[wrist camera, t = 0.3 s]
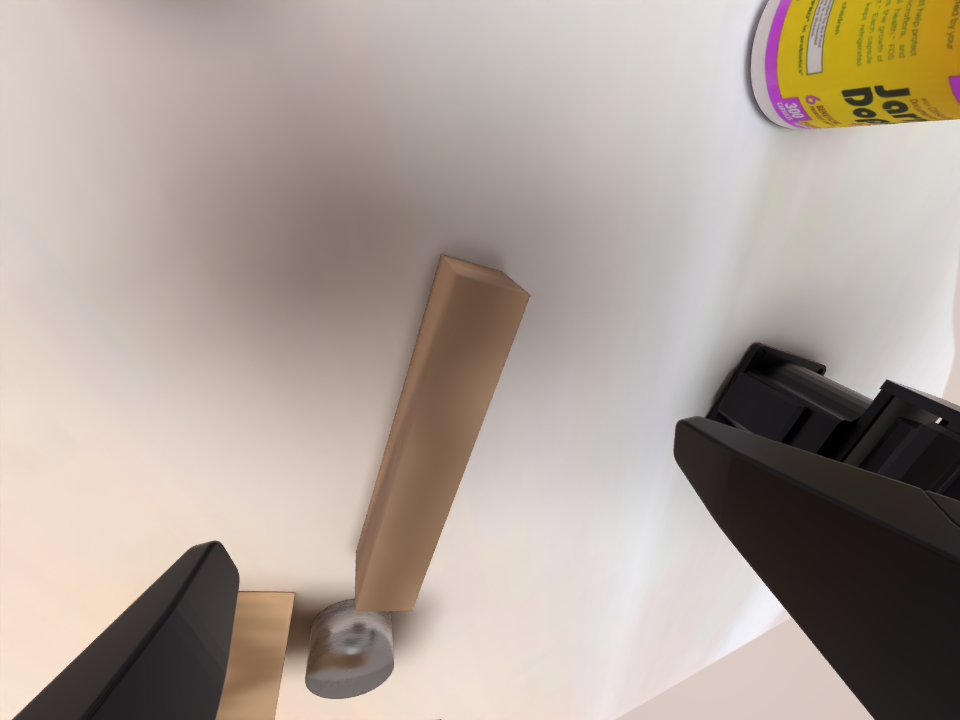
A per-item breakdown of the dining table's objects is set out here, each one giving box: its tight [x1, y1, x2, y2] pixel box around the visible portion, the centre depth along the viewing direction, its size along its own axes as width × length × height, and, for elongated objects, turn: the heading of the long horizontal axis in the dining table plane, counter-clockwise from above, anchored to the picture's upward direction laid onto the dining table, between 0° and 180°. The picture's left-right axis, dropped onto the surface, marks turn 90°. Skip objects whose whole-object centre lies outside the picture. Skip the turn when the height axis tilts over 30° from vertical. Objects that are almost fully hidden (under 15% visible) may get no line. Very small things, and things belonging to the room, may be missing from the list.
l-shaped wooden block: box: [216, 592, 441, 720], centre depth 22 cm, size 14×6×10 cm, turn 69°
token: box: [305, 599, 394, 699], centre depth 26 cm, size 5×5×3 cm
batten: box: [355, 254, 530, 612], centre depth 20 cm, size 3×18×4 cm, turn 161°
